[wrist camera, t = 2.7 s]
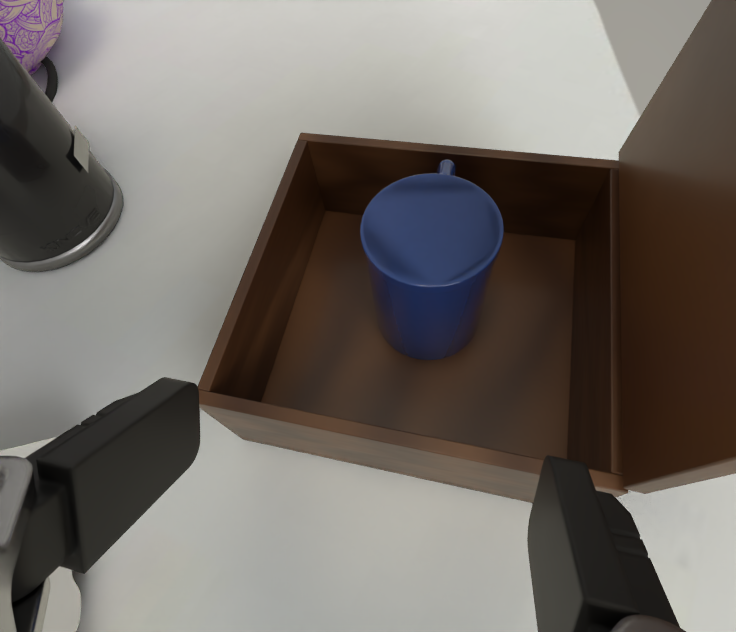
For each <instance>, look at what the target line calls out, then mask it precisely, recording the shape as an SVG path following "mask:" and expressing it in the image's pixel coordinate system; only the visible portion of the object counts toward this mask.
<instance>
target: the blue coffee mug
mask: <svg viewBox="0 0 736 632" xmlns="http://www.w3.org/2000/svg"><path fill="white" fill-rule="evenodd" d="M503 236H504V225H503V219H502V216H501V213H500V211H499V209H498V207H497V205H496V203H495V202H494V201H493V199H492V198H491V197H490V196H489V195H488V194H487V193H486V192H485V191H484V190H483V189H481V188H480V187H478V186H477V185H475V184H474V183H472V182H469V181H467V180H465V179H462V178H460V177H456V176H455V164H454V163H453V162H452V161H451V160H448V159H446V160H443V161H441V162H440V163H439V165H438V169H437V173H429V174H419V175H413V176H409V177H406V178H403V179H400V180H398V181H396V182H394V183H392V184H390V185H388V186H387V187H385V188H384V189H383V190H381V191H380V192H379V193H378V194H377V195H376V196H375V197H374V198H373V199H372V200H371V202H370V203H369V204H368V206H367V208H366V210H365V211H364V214H363V217H362V220H361V225H360V237H361V244H362V249H363V252H364V255H365V257H366V260H367V266H368V272H369V278H370V284H371V290H372V296H373V302H374V308H375V314H376V320H377V324H378V328H379V330H380V332H381V334H382V336H383V337H384V339H385V340H386V341H387V343H388V344H389V345H390V346H392V347H393V348H394V349H395V350H397V351H398V352H400V353H402V354H404V355H406V356H409V357H411V358H415V359H421V360H437V359H442V358H446V357H449V356H451V355H454V354H455V353H457V352H459V351H460V350H462V349H463V348H464V347H466V346H467V345H468V344H469V343H470V341H471V340H472V339H473V337H474V336H475V334H476V332H477V329H478V327H479V323H480V319H481V315H482V311H483V307H484V303H485V299H486V295H487V291H488V287H489V283H490V279H491V275H492V271H493V267H494V263H495V261H496V259H497V257H498V255H499V252H500V249H501V245H502V241H503Z"/></svg>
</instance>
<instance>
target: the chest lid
mask: <svg viewBox="0 0 736 632" xmlns="http://www.w3.org/2000/svg"><path fill="white" fill-rule="evenodd" d="M619 212H620V284H621V357H622V430H623V487H624V489H627V490H631V491H636V492H640V493H644V494H646V493H650V492H655V491H659V490H664V489H668V488H673V487H677V486H681V485H686V484H690V483H695V482H699V481H704V480H708V479H713V478H717V477H721V476H726V475H730V474H735V473H736V0H712V1H711V2H710V4H709V6H708V7H707V9H706V10H705V12H704V14H703V15H702V17H701V19H700V20H699V22H698V23H697V25H696V27H695V28H694V30H693V32H692V33H691V35H690V37H689V38H688V40H687V42H686V43H685V45H684V46H683V48H682V50H681V51H680V53H679V54H678V56H677V58H676V60H675V61H674V63H673V64H672V66H671V68H670V69H669V71H668V72H667V74H666V76H665V77H664V79H663V81H662V82H661V84H660V86H659V87H658V89H657V91H656V92H655V94H654V95H653V97H652V99H651V100H650V102H649V104H648V106H647V107H646V108H645V110H644V112H643V113H642V115H641V117H640V118H639V120H638V122H637V123H636V125H635V126H634V128H633V130H632V131H631V133H630V135H629V136H628V138H627V140H626V141H625V143H624V144H623V146H622V148H621V149H620V151H619Z"/></svg>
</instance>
